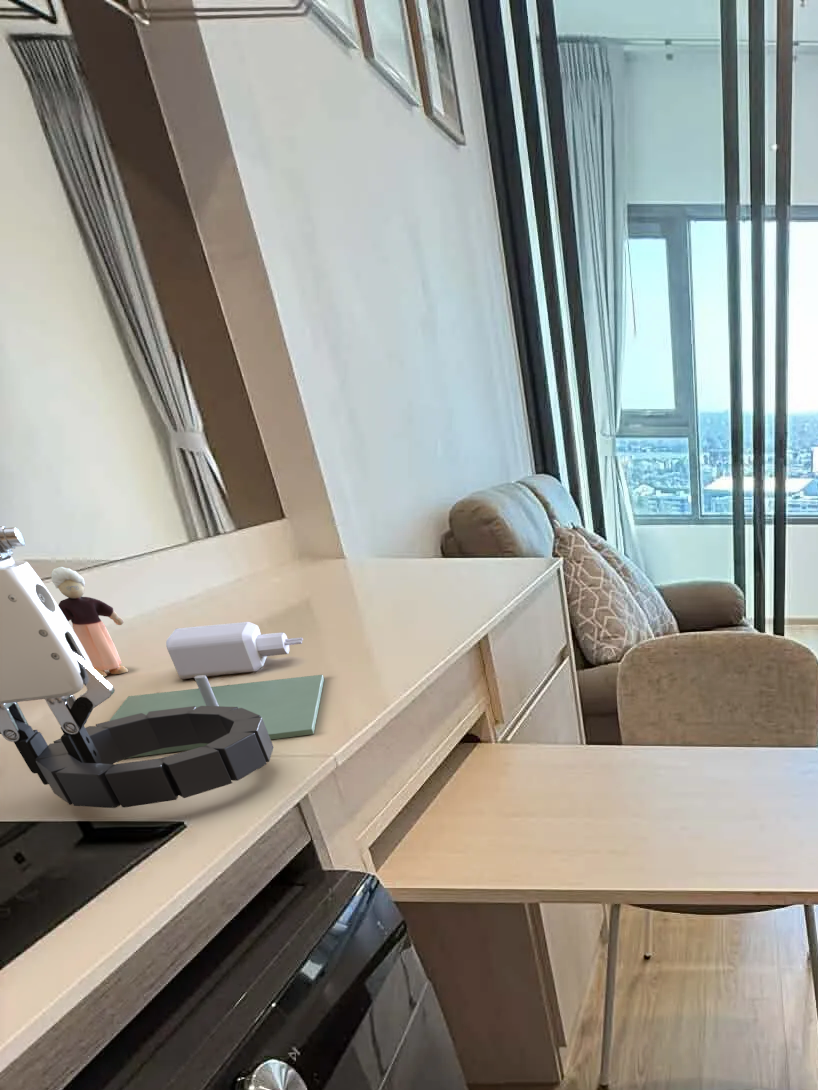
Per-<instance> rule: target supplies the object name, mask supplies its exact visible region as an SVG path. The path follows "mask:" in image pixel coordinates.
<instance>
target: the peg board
mask: <svg viewBox="0 0 818 1090" xmlns="http://www.w3.org/2000/svg"><path fill="white" fill-rule="evenodd" d="M193 679H194V680H195V683H196V685H197V688H189V689H181V690H171V691H164V692H163V691H162V692H154V693H146V694H145V693H143V694H137V695H128V696H127V698H126V699H125V700H124V701H123V702H122V704H121V705H120V707H119V708H117V710H116V712H114V714H113V715H112V716H111V718H110V719H109V721H111V720H115V719H119V718H123V717H127V716H131V715H135V714H140V713H143V714H145V715H147V714H148V712H150V711H158V710H166V709H174V708H183V707H191V706H195V707H196V708H197V707H200V706H224V707H238V708H244V709H246V710H248V711H251V712H253V713H255V714H258V715H260V716H261V717H262V719H263V722H264V724H265V727H266V729H267V732H268V734H269V737H270V739H271V741H272V740H279V739H287V738H295V737H302V736H303V737H304V736H311V735H314V734H315V729H316V723H317V719H318V714H319V709H320V703H321V697H322V693H323V687H324V681H325V678H324V675H323V674H314V675H306V676H297V677H287V678H279V679H269V680H262V681H253V682H251V681H250V682H243V683H235V684H226V685H216V686H211V684H210V681H209V679H208V676H207V677H206V675H198V676H195V677H194V678H193ZM205 745H207V743H199V744H192V745H184V746H176V747H169V748H161V749H158V750H154V751H150V752H147V753H143V754H139V755H136V756H132V757H128V758H127V759H132V758H138V757H139V758H140V757H148V756H155V755H162V754H169V753H177V752H178V753H180V752H185V751H188V750H192V749H196V748H199V747H203V746H205Z"/></svg>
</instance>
